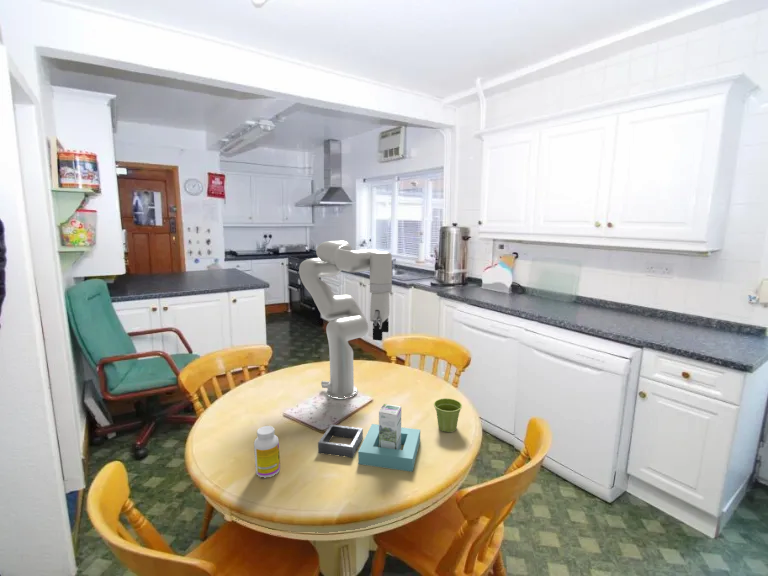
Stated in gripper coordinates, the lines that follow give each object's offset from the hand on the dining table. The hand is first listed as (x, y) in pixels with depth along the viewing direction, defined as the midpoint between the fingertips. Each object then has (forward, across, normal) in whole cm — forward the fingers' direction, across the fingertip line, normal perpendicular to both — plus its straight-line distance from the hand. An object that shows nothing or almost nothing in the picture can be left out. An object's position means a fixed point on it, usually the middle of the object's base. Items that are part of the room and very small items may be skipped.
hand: (380, 335), depth 137 cm
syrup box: (+31, +21, +8) cm, 38 cm away
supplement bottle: (+31, +38, -24) cm, 54 cm away
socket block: (+30, +21, +8) cm, 38 cm away
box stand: (+30, +21, -8) cm, 38 cm away
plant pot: (+31, +3, +24) cm, 39 cm away
